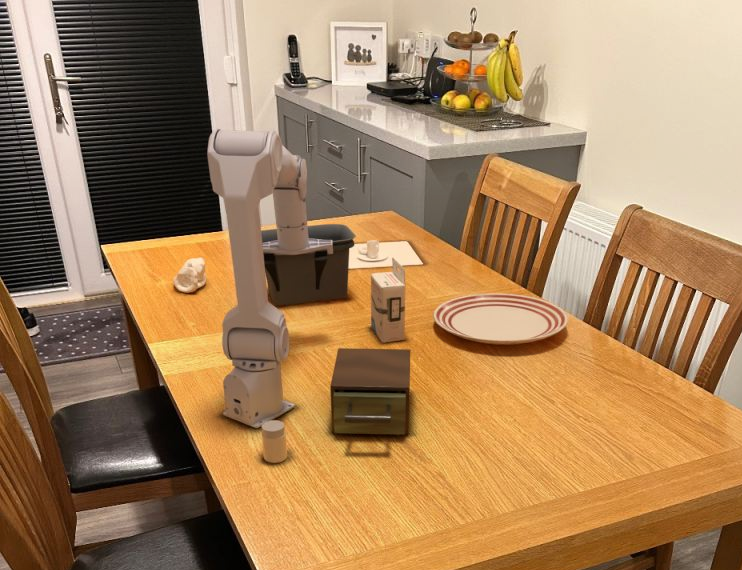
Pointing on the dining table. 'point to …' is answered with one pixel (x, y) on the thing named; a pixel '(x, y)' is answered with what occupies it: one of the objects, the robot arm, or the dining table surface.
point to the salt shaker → (274, 441)
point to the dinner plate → (500, 318)
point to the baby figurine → (191, 275)
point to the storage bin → (312, 268)
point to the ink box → (388, 304)
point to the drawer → (369, 412)
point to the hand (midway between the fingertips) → (298, 288)
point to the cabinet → (372, 373)
